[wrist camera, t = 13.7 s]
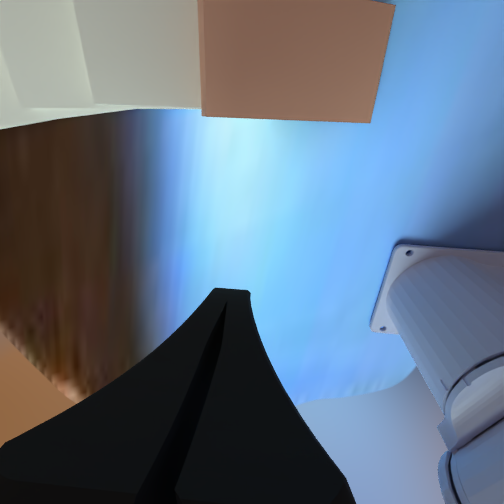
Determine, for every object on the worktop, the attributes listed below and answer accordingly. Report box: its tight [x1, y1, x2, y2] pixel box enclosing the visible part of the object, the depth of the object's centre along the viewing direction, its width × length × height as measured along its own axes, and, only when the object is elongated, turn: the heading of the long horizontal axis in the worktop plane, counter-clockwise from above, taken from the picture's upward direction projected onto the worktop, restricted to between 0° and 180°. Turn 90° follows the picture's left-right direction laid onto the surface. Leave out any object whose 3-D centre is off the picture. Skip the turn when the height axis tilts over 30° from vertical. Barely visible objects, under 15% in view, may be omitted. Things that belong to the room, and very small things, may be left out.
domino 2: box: [73, 0, 201, 108], centre depth 13 cm, size 2×5×9 cm
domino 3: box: [0, 0, 201, 109], centre depth 13 cm, size 2×5×9 cm
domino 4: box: [0, 48, 130, 126], centre depth 14 cm, size 2×5×9 cm
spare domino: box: [197, 0, 396, 123], centre depth 13 cm, size 2×5×9 cm
